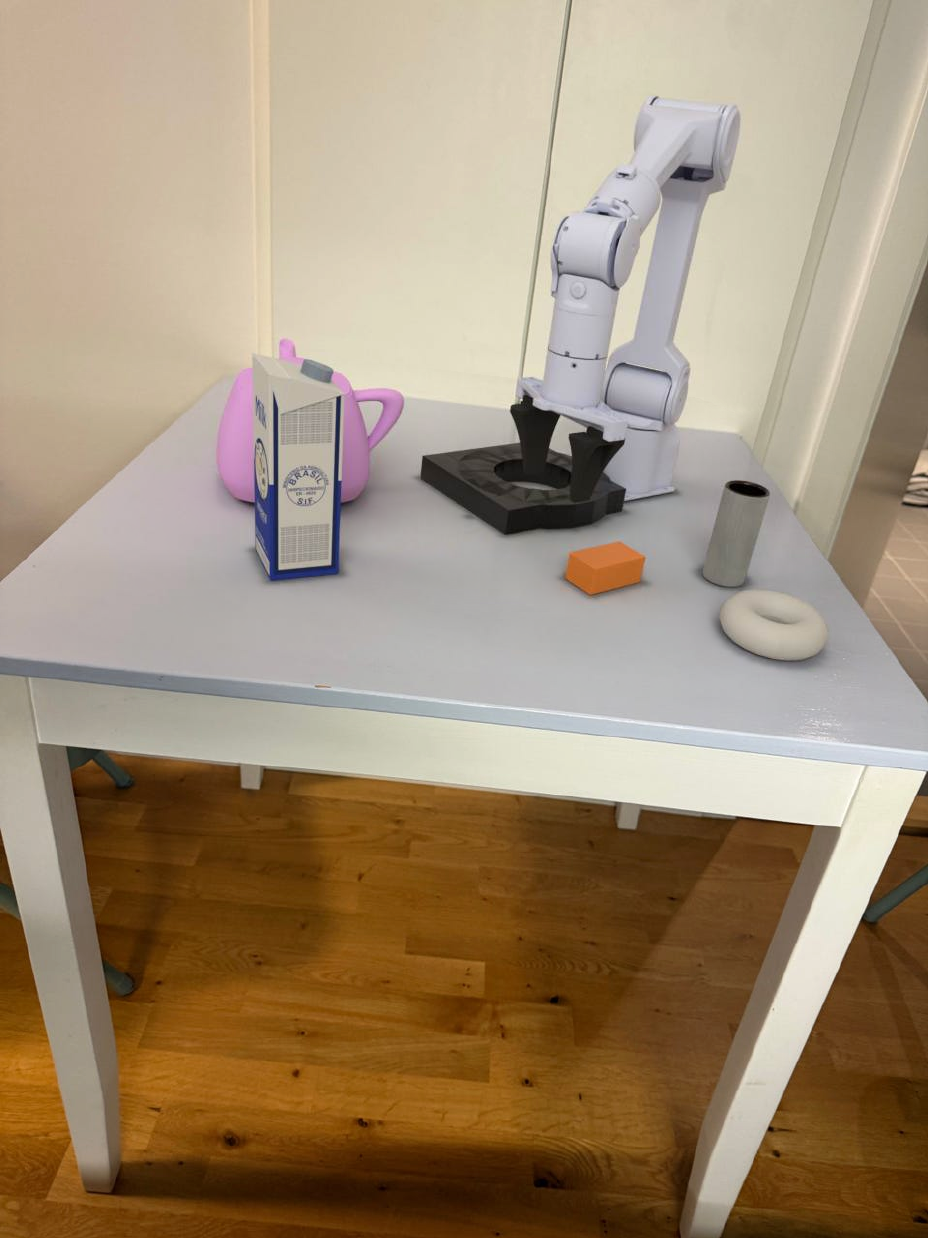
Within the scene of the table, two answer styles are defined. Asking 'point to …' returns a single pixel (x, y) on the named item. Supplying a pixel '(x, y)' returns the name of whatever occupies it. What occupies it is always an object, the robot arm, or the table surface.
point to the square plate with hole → (517, 489)
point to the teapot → (357, 446)
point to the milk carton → (297, 467)
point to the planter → (735, 532)
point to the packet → (604, 567)
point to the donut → (774, 625)
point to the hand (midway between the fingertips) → (555, 486)
